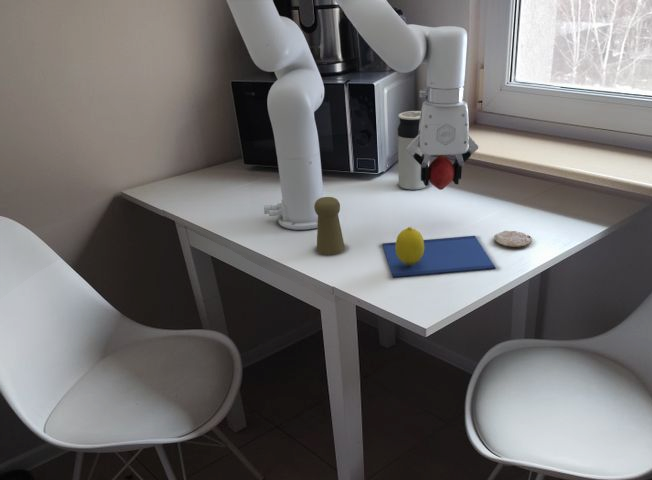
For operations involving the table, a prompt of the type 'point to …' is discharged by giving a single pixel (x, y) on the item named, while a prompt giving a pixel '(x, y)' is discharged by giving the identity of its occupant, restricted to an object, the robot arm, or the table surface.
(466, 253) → the blue rectangular board
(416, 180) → the travel mug
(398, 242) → the lemon
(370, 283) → the table surface
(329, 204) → the olive pawn
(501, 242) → the flatbread
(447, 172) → the onion
